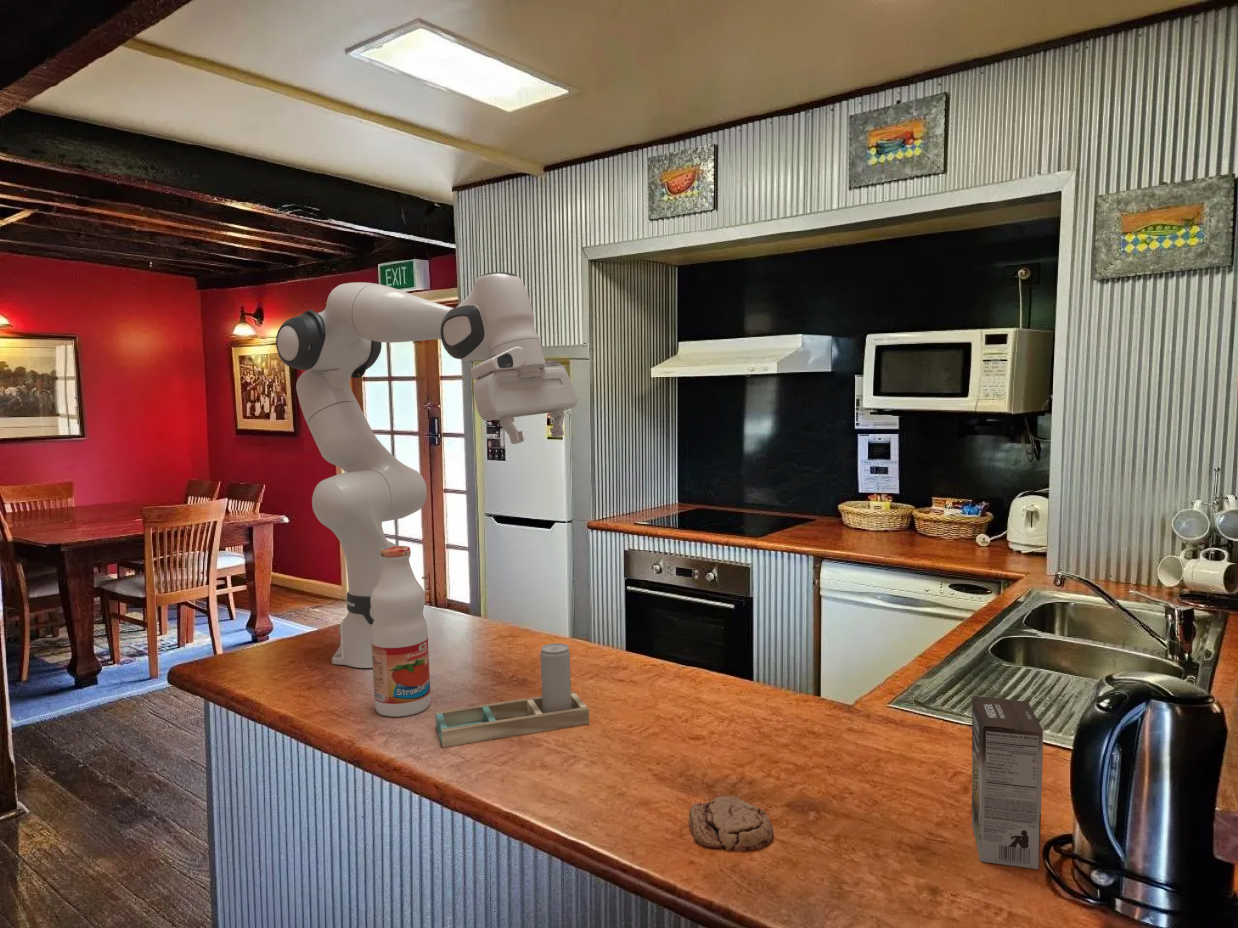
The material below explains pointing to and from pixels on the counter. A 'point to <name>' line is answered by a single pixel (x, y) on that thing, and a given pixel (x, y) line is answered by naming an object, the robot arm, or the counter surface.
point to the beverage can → (555, 677)
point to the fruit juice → (399, 638)
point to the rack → (505, 720)
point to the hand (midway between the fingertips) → (538, 439)
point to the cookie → (730, 824)
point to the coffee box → (1006, 781)
